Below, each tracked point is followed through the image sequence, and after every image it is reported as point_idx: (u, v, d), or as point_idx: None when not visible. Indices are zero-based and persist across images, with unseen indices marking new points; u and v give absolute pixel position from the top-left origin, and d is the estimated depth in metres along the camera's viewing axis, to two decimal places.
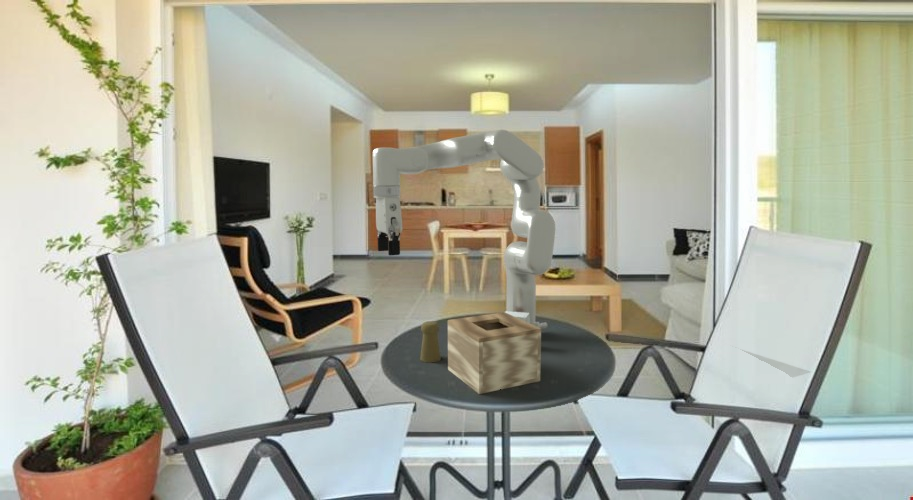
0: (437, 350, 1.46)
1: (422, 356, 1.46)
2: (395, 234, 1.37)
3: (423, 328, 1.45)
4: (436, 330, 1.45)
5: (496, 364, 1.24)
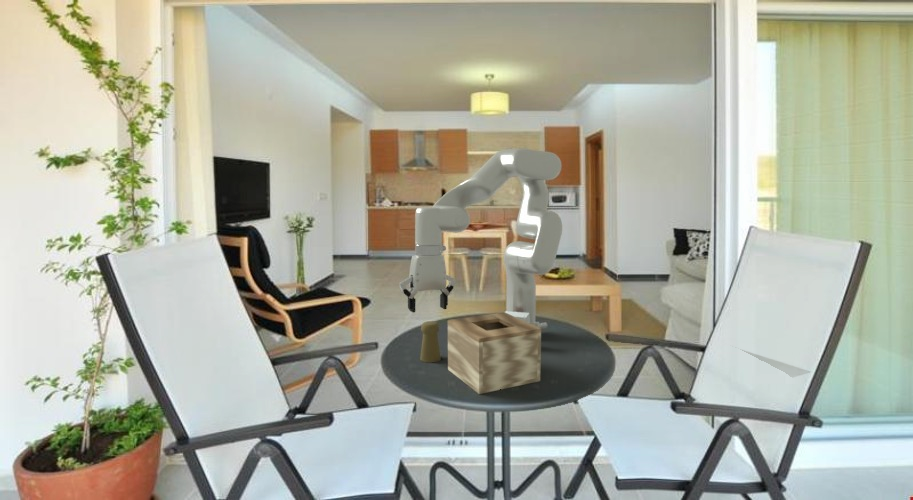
0: (437, 350, 1.46)
1: (422, 356, 1.46)
2: None
3: (423, 328, 1.45)
4: (436, 330, 1.45)
5: (496, 364, 1.24)
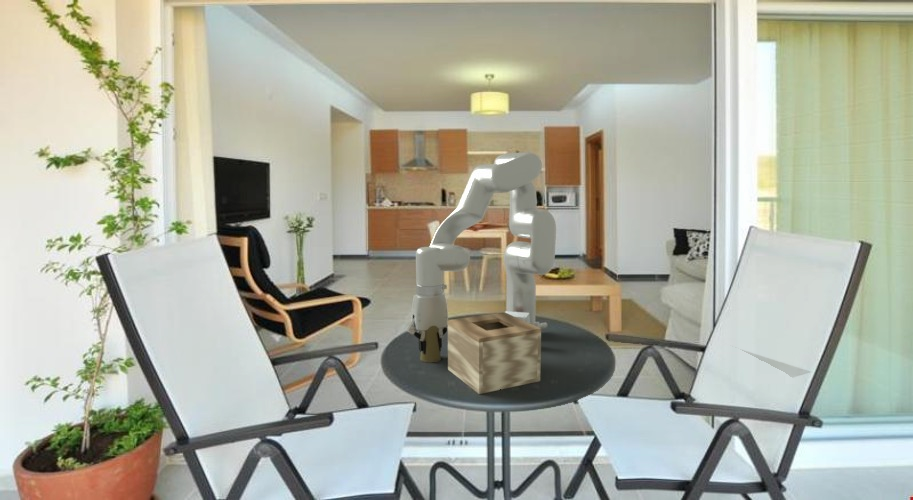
0: (437, 350, 1.46)
1: (422, 356, 1.46)
2: None
3: None
4: (436, 330, 1.45)
5: (496, 364, 1.24)
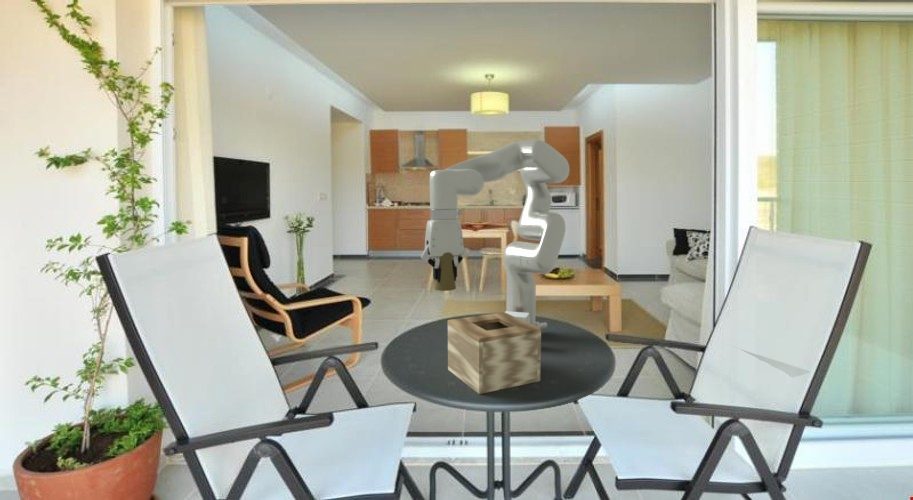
0: (452, 278, 1.40)
1: (436, 285, 1.40)
2: None
3: None
4: (451, 257, 1.39)
5: (496, 364, 1.24)
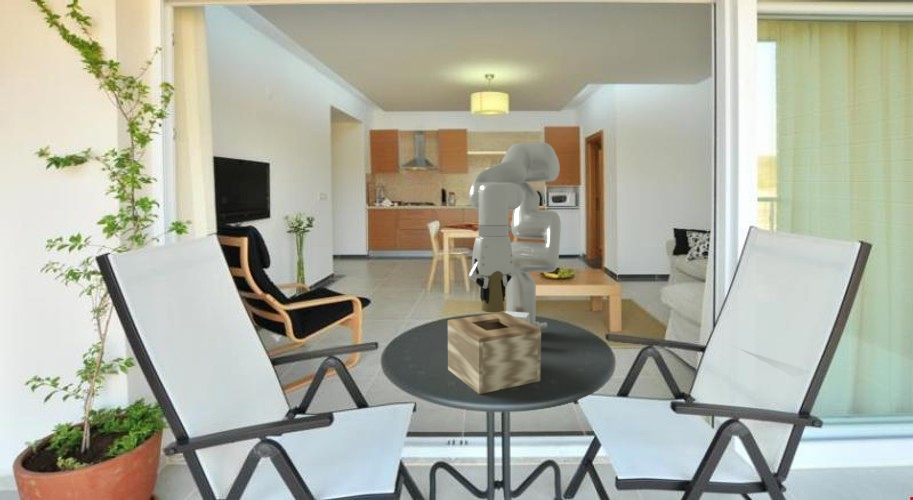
0: (501, 299, 1.31)
1: (484, 306, 1.31)
2: None
3: None
4: (500, 276, 1.30)
5: (496, 364, 1.24)
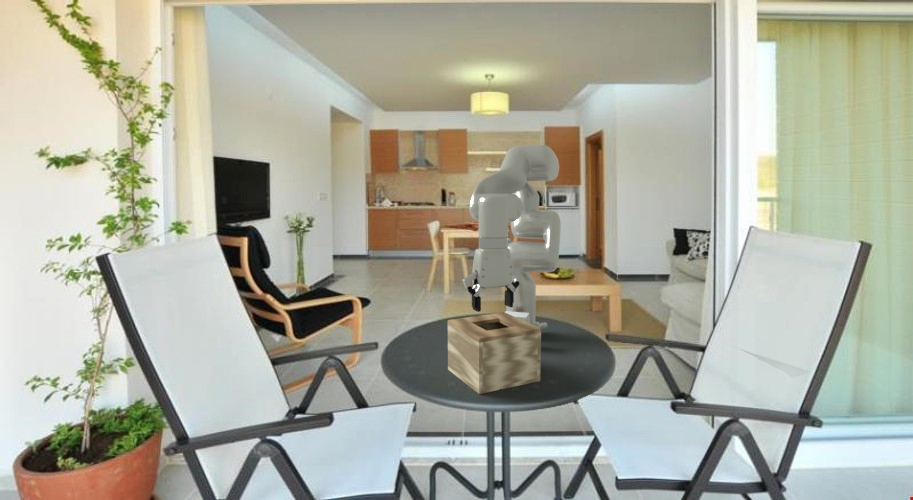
0: None
1: None
2: None
3: None
4: None
5: (496, 364, 1.24)
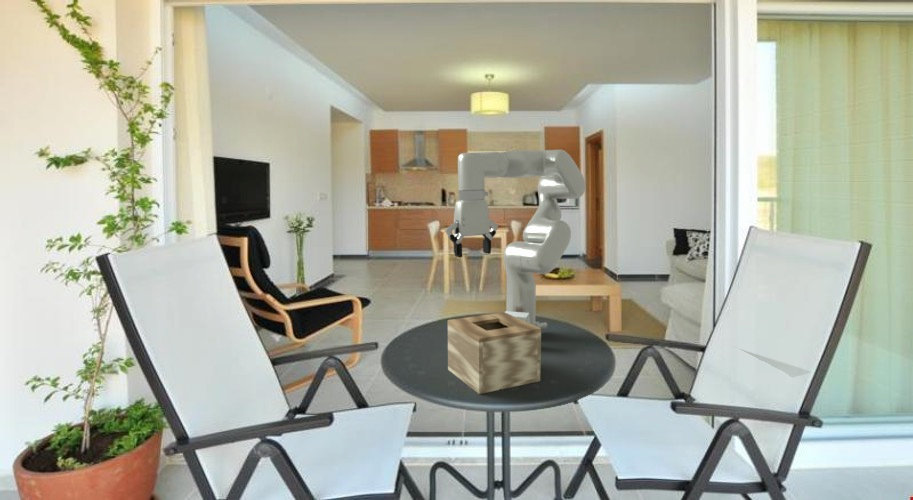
0: None
1: None
2: None
3: None
4: None
5: (496, 364, 1.24)
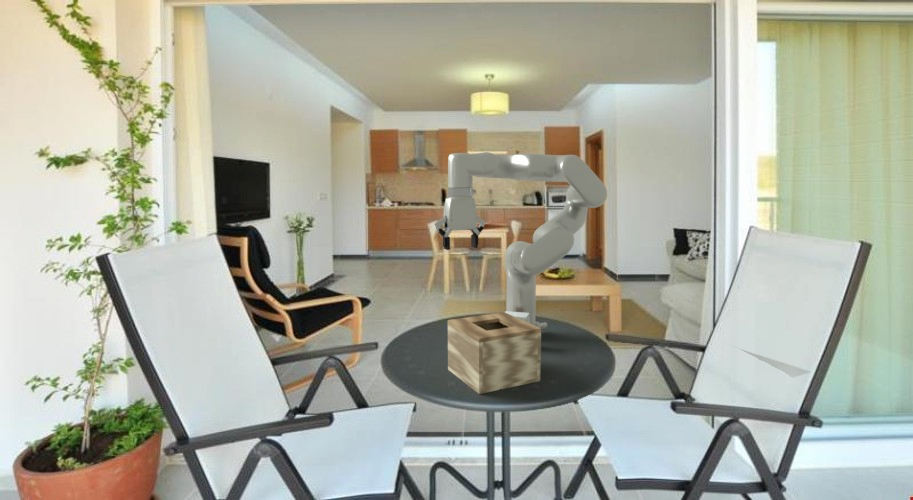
0: None
1: None
2: None
3: None
4: None
5: (496, 364, 1.24)
